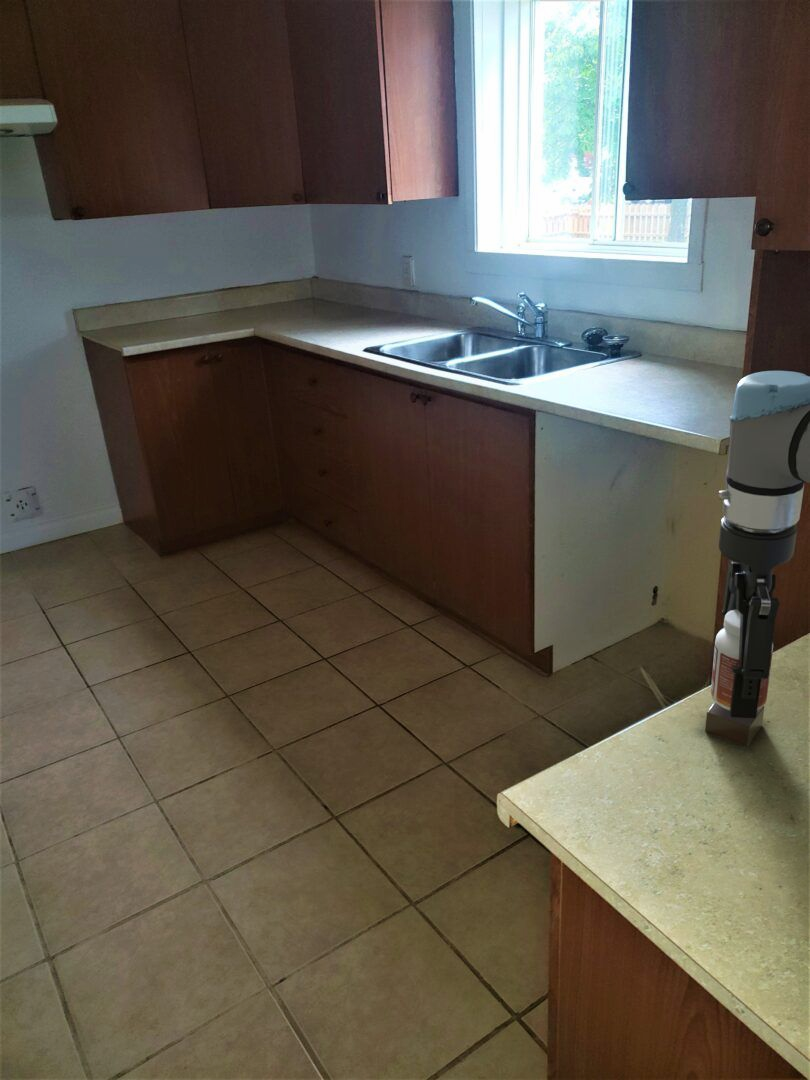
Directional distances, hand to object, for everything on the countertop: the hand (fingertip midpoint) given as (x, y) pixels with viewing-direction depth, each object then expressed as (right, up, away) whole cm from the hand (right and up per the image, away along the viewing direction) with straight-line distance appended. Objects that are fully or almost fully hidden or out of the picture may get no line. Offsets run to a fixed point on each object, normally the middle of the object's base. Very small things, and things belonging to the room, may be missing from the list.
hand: (737, 696), depth 96 cm
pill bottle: (0, 0, 0) cm, 1 cm away
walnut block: (0, -4, +2) cm, 5 cm away
